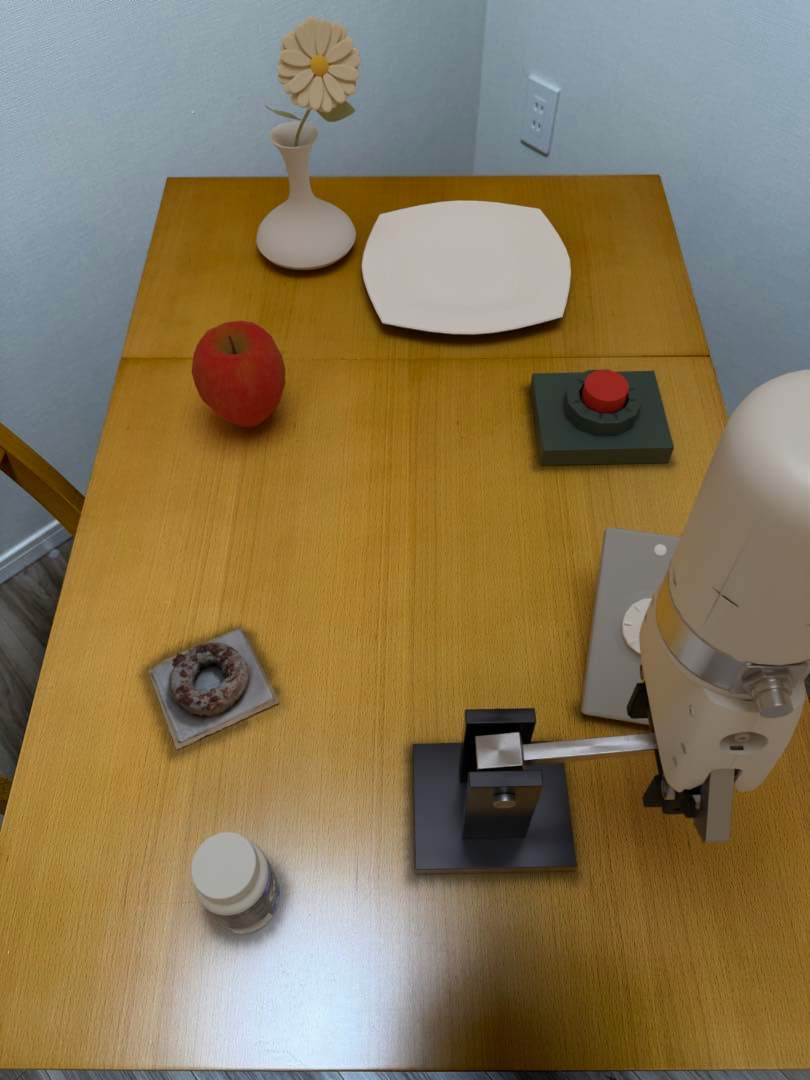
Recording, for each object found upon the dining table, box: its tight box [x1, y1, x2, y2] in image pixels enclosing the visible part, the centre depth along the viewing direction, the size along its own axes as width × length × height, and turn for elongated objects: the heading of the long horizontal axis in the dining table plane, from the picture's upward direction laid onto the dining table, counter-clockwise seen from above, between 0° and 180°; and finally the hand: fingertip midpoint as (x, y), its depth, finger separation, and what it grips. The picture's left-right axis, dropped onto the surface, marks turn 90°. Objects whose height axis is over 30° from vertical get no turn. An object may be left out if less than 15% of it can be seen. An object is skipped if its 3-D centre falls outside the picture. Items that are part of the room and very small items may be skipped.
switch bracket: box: [412, 707, 578, 875], centre depth 57 cm, size 11×9×12 cm
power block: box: [529, 369, 675, 466], centre depth 81 cm, size 12×10×4 cm
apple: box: [190, 320, 286, 429], centre depth 80 cm, size 9×8×11 cm
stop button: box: [582, 369, 629, 414], centre depth 79 cm, size 4×4×2 cm
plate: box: [361, 200, 572, 336], centre depth 95 cm, size 23×23×2 cm
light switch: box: [580, 526, 681, 726], centre depth 67 cm, size 8×6×14 cm
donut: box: [147, 627, 280, 750], centre depth 67 cm, size 8×8×2 cm
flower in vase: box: [255, 16, 361, 271], centre depth 89 cm, size 13×11×25 cm
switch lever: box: [475, 703, 663, 774], centre depth 53 cm, size 12×5×2 cm, turn 91°
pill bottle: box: [190, 831, 281, 935], centre depth 55 cm, size 5×5×8 cm
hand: (659, 755), depth 54 cm, fingers closed on switch lever, 5 cm apart
